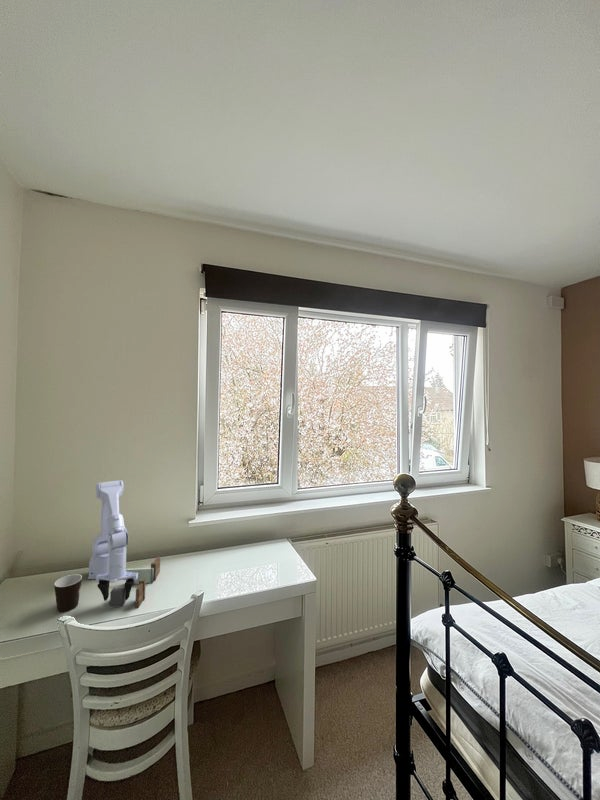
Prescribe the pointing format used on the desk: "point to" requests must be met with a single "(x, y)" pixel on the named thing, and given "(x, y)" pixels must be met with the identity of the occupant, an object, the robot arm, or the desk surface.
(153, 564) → the door frame
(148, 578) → the door
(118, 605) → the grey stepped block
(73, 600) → the coffee mug
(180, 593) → the desk surface
